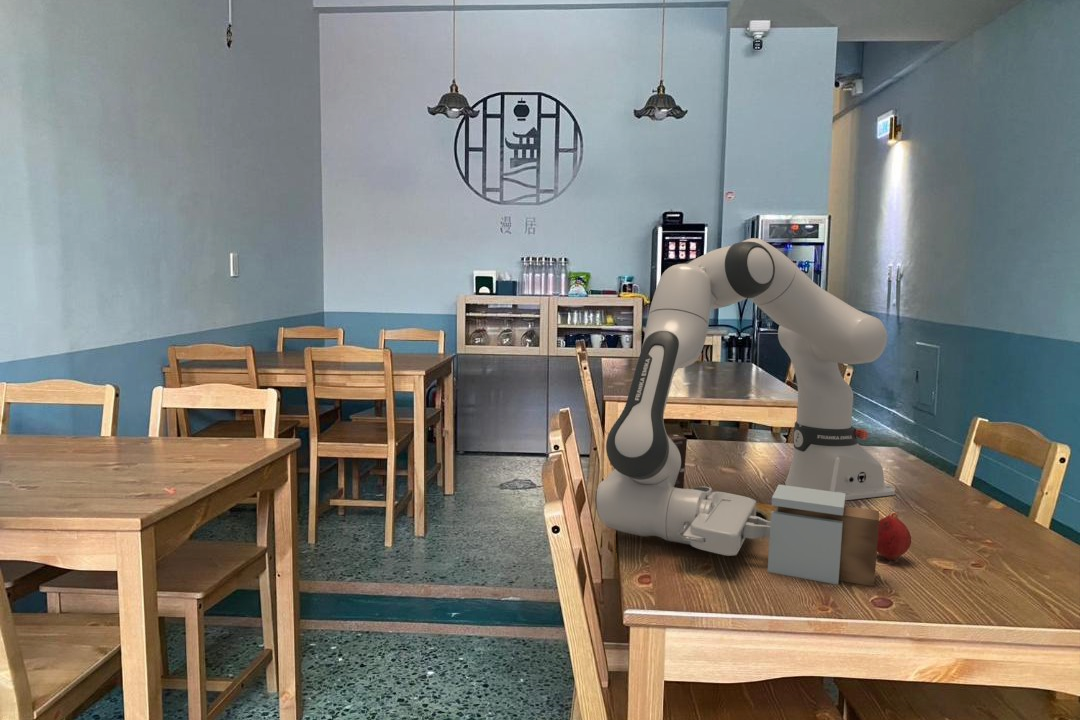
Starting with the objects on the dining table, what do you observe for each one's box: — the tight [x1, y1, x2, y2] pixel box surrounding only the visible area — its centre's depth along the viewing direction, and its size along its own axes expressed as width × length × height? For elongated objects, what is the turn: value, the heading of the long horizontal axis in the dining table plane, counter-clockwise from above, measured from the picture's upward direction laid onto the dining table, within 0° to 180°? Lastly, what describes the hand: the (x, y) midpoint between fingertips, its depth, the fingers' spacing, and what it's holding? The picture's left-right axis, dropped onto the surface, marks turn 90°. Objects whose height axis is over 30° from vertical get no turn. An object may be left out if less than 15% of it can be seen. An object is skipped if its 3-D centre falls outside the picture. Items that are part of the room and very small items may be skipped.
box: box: [667, 433, 688, 489], centre depth 151 cm, size 6×4×12 cm
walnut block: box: [778, 505, 880, 588], centre depth 110 cm, size 14×5×10 cm, turn 65°
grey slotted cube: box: [767, 484, 846, 585], centre depth 111 cm, size 10×8×12 cm
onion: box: [877, 511, 912, 561], centre depth 116 cm, size 6×6×8 cm
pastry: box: [756, 502, 776, 522], centre depth 134 cm, size 9×7×4 cm
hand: (778, 531), depth 113 cm, fingers closed, pressing on walnut block
